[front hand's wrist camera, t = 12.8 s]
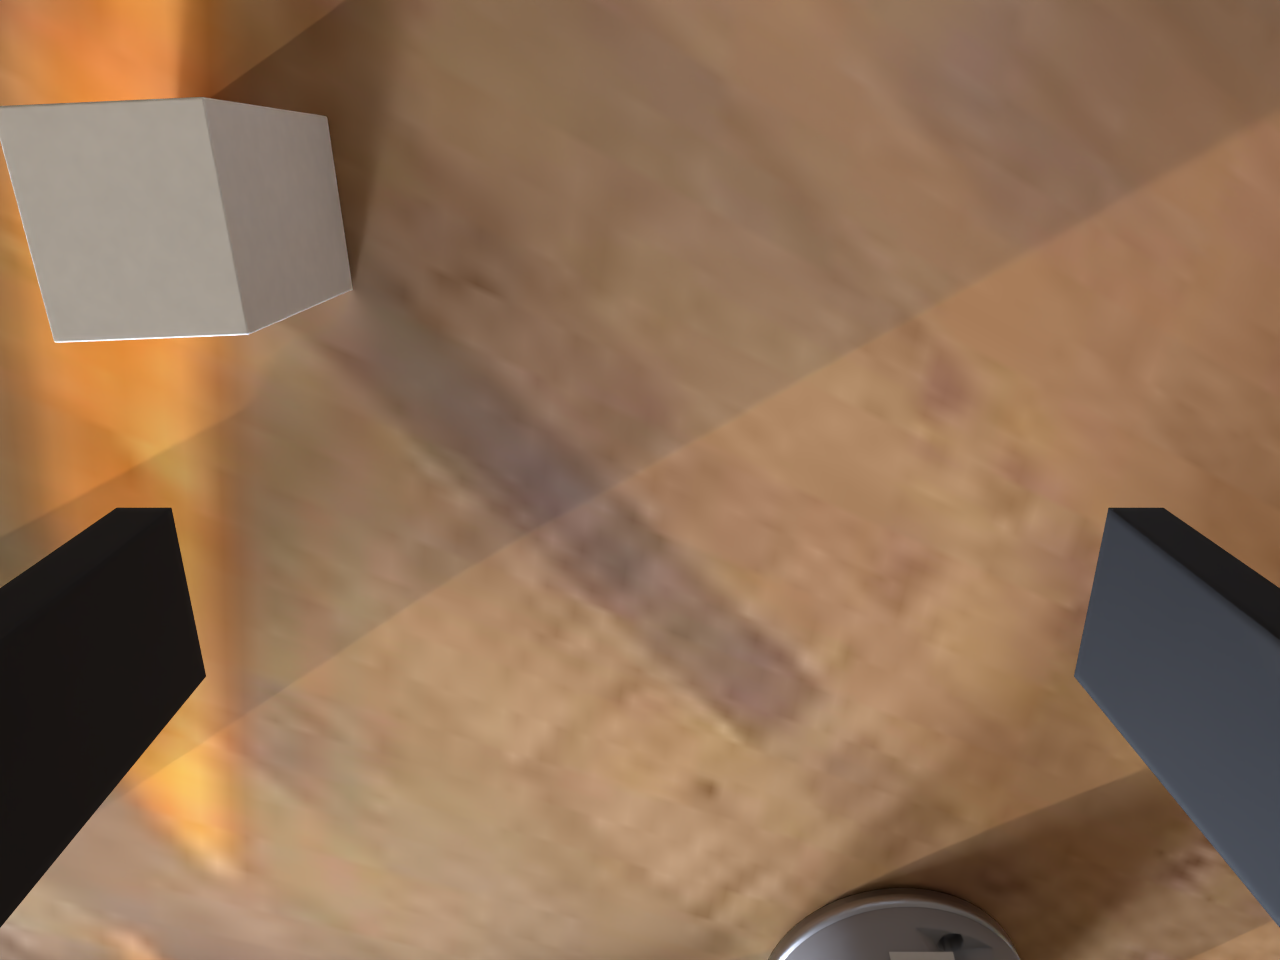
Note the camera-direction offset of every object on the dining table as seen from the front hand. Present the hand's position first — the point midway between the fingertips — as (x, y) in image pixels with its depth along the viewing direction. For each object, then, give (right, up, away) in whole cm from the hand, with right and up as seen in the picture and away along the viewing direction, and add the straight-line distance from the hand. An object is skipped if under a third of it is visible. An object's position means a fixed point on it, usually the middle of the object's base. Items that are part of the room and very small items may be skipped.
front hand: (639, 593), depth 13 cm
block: (-16, +13, +25) cm, 32 cm away
